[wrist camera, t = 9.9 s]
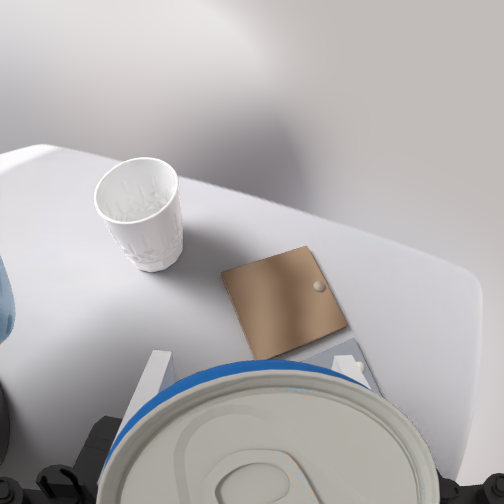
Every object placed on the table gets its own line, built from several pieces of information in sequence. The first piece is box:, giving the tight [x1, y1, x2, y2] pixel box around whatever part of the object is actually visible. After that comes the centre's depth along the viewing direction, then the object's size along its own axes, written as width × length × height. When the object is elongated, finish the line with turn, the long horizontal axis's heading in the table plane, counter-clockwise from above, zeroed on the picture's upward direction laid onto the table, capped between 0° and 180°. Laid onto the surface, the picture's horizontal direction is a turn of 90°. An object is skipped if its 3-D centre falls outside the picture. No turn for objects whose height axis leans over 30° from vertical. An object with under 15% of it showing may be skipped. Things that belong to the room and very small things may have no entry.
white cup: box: [94, 158, 183, 272], centre depth 31 cm, size 8×8×10 cm
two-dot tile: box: [301, 338, 382, 397], centre depth 27 cm, size 10×10×1 cm
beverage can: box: [96, 360, 440, 504], centre depth 8 cm, size 6×6×12 cm
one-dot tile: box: [221, 246, 348, 360], centre depth 32 cm, size 10×10×1 cm
